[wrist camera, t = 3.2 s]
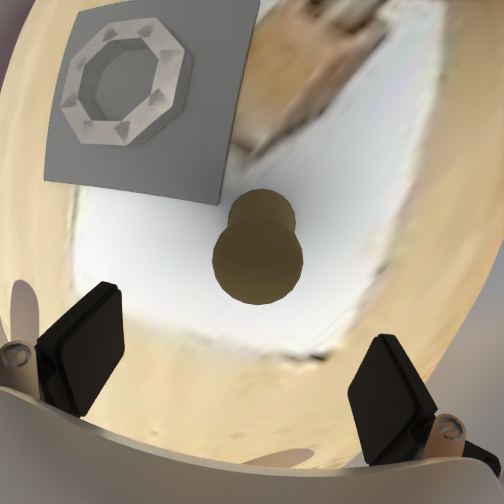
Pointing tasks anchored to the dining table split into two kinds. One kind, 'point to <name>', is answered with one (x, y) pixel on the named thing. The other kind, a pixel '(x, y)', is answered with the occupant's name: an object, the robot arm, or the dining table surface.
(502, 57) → the dining table surface
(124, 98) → the slate board
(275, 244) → the cork
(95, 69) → the steel collar
